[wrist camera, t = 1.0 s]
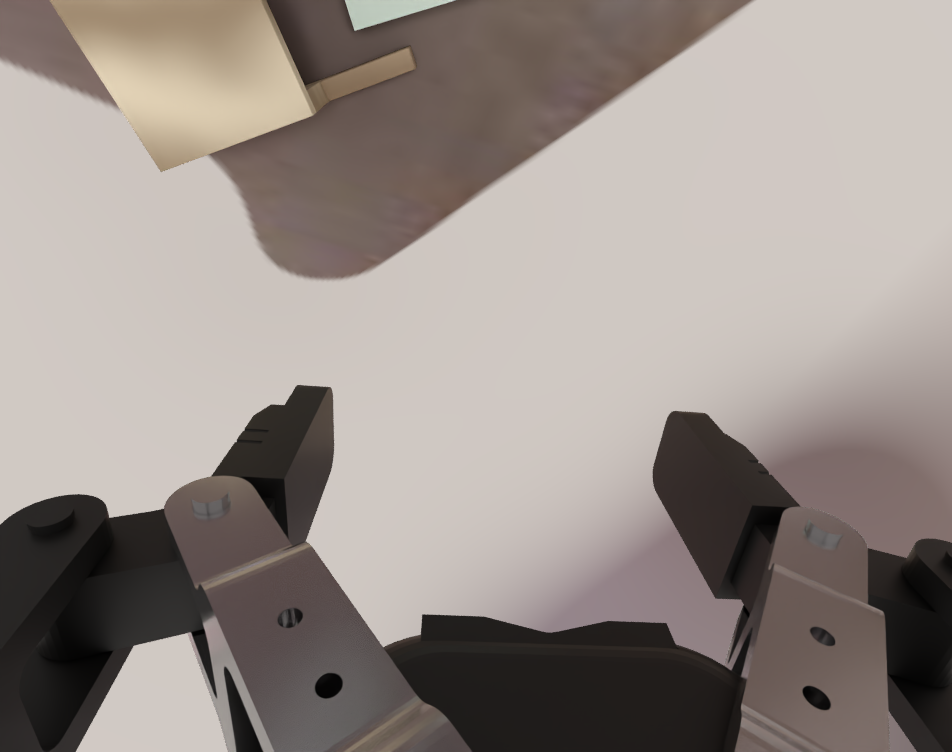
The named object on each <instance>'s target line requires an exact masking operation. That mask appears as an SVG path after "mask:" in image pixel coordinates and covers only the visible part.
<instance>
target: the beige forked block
mask: <svg viewBox="0 0 952 752" xmlns="http://www.w3.org/2000/svg"><path fill="white" fill-rule="evenodd" d="M50 2H51V4H52V5H53V7H54V8H55V10H56V11H57V13H58V14H59V16H60V17H61V19H62V20H63V22H64V24H65V25H66V27H67V28H68V30H69V31H70V33H71V34H72V36H73V37H74V39H75V40H76V42H77V44H78V45H79V47H80V48H81V50H82V51H83V53H84V54H85V56H86V57H87V59H88V60H89V62H90V63H91V65H92V67H93V68H94V70H95V71H96V73H97V74H98V76H99V77H100V79H101V80H102V82H103V83H104V85H105V87H106V88H107V90H108V91H109V93H110V94H111V96H112V97H113V99H114V100H115V102H116V103H117V105H118V106H119V108H120V110H121V111H122V113H123V114H124V116H125V117H126V119H127V120H128V122H129V123H130V125H131V126H132V128H133V130H134V131H135V133H136V134H137V136H138V137H139V139H140V140H141V142H142V143H143V145H144V146H145V148H146V150H147V151H148V152H149V154H150V156H151V157H152V159H153V160H154V162H155V163H156V165H157V166H158V168H159V169H160V171H161V172H162V171H165V170H168V169H170V168H173V167H176V166H178V165H181V164H184V163H186V162H189V161H192V160H195V159H197V158H200V157H203V156H205V155H208V154H211V153H213V152H216V151H219V150H222V149H224V148H227V147H230V146H232V145H235V144H238V143H240V142H243V141H246V140H248V139H251V138H254V137H256V136H259V135H262V134H265V133H267V132H270V131H273V130H275V129H278V128H281V127H283V126H286V125H289V124H291V123H294V122H297V121H300V120H302V119H305V118H308V117H310V116H313V115H314V114H315V113H316V112H318V111H319V110H320V109H321V108H322V107H323V106H324V105H325V104H327V103H328V102H329V101H331V100H334V99H337V98H339V97H342V96H345V95H347V94H350V93H353V92H355V91H358V90H361V89H363V88H366V87H369V86H371V85H374V84H377V83H379V82H382V81H385V80H387V79H390V78H393V77H395V76H398V75H401V74H403V73H406V72H409V71H411V70H414V69H416V67H417V65H416V62H415V58H414V55H413V52H412V49H411V46H407V47H405V48H402V49H400V50H397V51H394V52H392V53H389V54H387V55H384V56H381V57H379V58H376V59H373V60H371V61H368V62H366V63H363V64H360V65H358V66H355V67H352V68H350V69H347V70H345V71H342V72H339V73H337V74H334V75H332V76H329V77H326V78H324V79H321V80H318V81H316V82H313V83H311V84H308V85H305V86H304V83H303V81H302V79H301V77H300V74H299V72H298V70H297V68H296V66H295V63H294V61H293V59H292V57H291V54H290V52H289V50H288V48H287V46H286V43H285V41H284V39H283V37H282V35H281V32H280V30H279V28H278V26H277V23H276V21H275V19H274V17H273V15H272V12H271V10H270V8H269V6H268V3H267V1H266V0H50Z"/></svg>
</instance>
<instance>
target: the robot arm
mask: <svg viewBox="0 0 952 752" xmlns="http://www.w3.org/2000/svg"><path fill="white" fill-rule="evenodd" d="M333 454H334V425H333V393H332V389H331V388H330V387H319V386H303V385H297V386H296V387H295V389H294V391H293V393H292V394H291V396H290V397H289V399H288V400H287V402H286V404H285V405H270V406H268V407H267V408H265V409H263V410H262V411H260V412H259V413H257V414H255V415H254V416H253V417H252V419H251V420H250V422H249V423H248V425H247V426H246V427H245V431H243V432H242V433H241V435H240V436H239V437H238V439H237V442H235V443H234V445H233V446H232V447H231V449H230V450H229V452H228V453H227V455H226V456H225V457H224V459H223V460H222V462H221V463H220V465H219V466H218V467H217V469H216V470H215V472H214V473H213V475H212V476H211V477H207V478H203V479H199V480H196V481H193V482H191V483H189V484H187V485H185V486H183V487H181V488H179V489H178V490H177V491H175V492H174V493H173V494H172V495H171V496H170V497H169V498H168V500H167V501H166V504H165V506H164V509H161V510H156V511H151V512H145V513H138V514H132V515H126V516H119V517H113V518H109V515H108V511H107V507H106V505H105V503H104V502H103V501H102V500H100V499H99V498H96V497H94V496H89V495H80V494H78V495H64V496H58V497H54V498H50V499H46V500H43V501H40V502H37V503H34V504H32V505H30V506H28V507H25V508H23V509H21V510H20V511H18V512H16V513H15V514H13V515H12V516H10V517H9V518H7V519H6V520H5V521H4V522H3V523H2V524H1V525H0V752H76V750H77V748H78V746H79V744H80V743H81V741H82V739H83V737H84V735H85V734H86V732H87V730H88V728H89V726H90V724H91V723H92V721H93V719H94V717H95V715H96V713H97V711H98V710H99V708H100V706H101V704H102V702H103V701H104V699H105V697H106V695H107V693H108V692H109V690H110V688H111V686H112V684H113V682H114V680H115V679H116V677H117V675H118V673H119V671H120V670H121V668H122V666H123V664H124V662H125V661H126V659H127V657H128V655H129V653H130V651H131V649H132V648H133V646H134V645H138V644H142V643H147V642H151V641H155V640H159V639H163V638H168V637H172V636H176V635H181V634H185V633H188V636H189V638H190V641H191V644H192V647H193V649H194V652H195V655H196V657H197V660H198V663H199V666H200V668H201V671H202V674H203V677H204V679H205V682H206V685H207V687H208V690H209V693H210V696H211V698H212V701H213V704H214V707H215V709H216V712H217V715H218V717H219V721H220V724H221V728H222V731H223V735H224V739H225V743H226V746H227V750H228V752H890V740H889V739H890V738H889V712H890V713H891V715H892V716H893V718H894V719H895V720H896V722H897V723H898V725H899V726H900V728H901V729H902V731H903V732H904V733H905V735H906V736H907V737H908V739H909V740H910V742H911V744H912V745H913V746H914V748H915V749H916V751H917V752H952V543H950V542H947V541H943V540H938V539H921V540H919V541H917V542H916V543H915V545H914V547H913V548H912V550H911V552H910V554H909V555H908V557H907V558H904V557H899V556H896V555H892V554H888V553H885V552H880V551H877V550H872V549H869V548H868V547H867V543H866V542H865V540H864V538H863V537H862V536H861V535H860V534H859V533H858V532H857V531H856V530H855V529H854V528H853V527H851V526H850V525H849V524H847V523H846V522H844V521H842V520H840V519H839V518H837V517H835V516H833V515H830V514H828V513H826V512H823V511H820V510H817V509H813V508H807V507H801V506H800V505H799V504H798V503H797V502H796V501H795V500H794V499H793V498H792V497H791V495H790V494H789V493H788V492H787V491H786V490H785V489H784V488H783V487H782V486H781V485H780V484H779V482H778V481H777V480H776V479H775V478H774V477H773V476H772V475H769V472H768V471H767V469H766V468H765V467H764V466H763V465H762V464H761V463H758V460H757V459H756V457H755V456H754V455H753V454H752V453H751V452H750V451H749V450H748V449H747V448H746V447H745V446H744V445H742V444H741V443H739V442H737V441H736V440H734V439H733V438H731V437H730V436H728V435H727V434H724V433H723V432H722V430H721V429H720V428H719V427H718V426H717V425H716V424H715V423H714V421H713V420H712V419H711V418H710V417H709V416H708V415H707V414H705V413H696V412H681V411H673V412H671V413H670V415H669V416H668V418H667V421H666V424H665V427H664V431H663V435H662V438H661V442H660V445H659V449H658V452H657V456H656V459H655V463H654V467H653V484H654V488H655V491H656V493H657V494H658V496H659V498H660V500H661V501H662V503H663V505H664V507H665V509H666V511H667V512H668V514H669V516H670V518H671V519H672V521H673V523H674V525H675V527H676V528H677V530H678V532H679V534H680V536H681V537H682V539H683V541H684V543H685V545H686V546H687V548H688V550H689V552H690V554H691V555H692V557H693V559H694V561H695V562H696V564H697V566H698V568H699V570H700V571H701V573H702V575H703V577H704V579H705V580H706V582H707V584H708V586H709V587H710V589H711V591H712V593H713V595H714V597H715V598H717V599H741V600H742V602H743V604H744V605H743V607H742V610H741V612H740V614H739V617H738V620H737V623H736V627H735V630H734V633H733V637H732V640H731V643H730V647H729V650H728V654H727V657H726V660H725V664H724V666H723V665H722V664H720V663H718V662H716V661H715V660H713V659H711V658H709V657H707V656H705V655H702V654H700V653H698V652H695V651H693V650H690V649H688V648H685V647H682V646H679V645H676V644H675V642H674V640H673V638H672V635H671V633H670V631H669V628H668V626H667V624H666V623H645V622H618V621H607V622H602V623H597V624H592V625H588V626H583V627H578V628H573V629H569V630H564V631H559V632H553V633H546V632H541V631H537V630H533V629H529V628H526V627H522V626H518V625H514V624H510V623H506V622H503V621H499V620H495V619H491V618H487V617H479V616H478V617H476V616H451V615H422V628H421V635H418V636H414V637H409V638H406V639H403V640H400V641H397V642H394V643H392V644H389V645H387V646H385V647H382V645H381V644H380V643H379V641H378V640H377V638H376V637H375V635H374V634H373V633H372V631H371V630H370V628H369V627H368V626H367V624H366V623H365V621H364V620H363V618H362V617H361V615H360V614H359V613H358V611H357V610H356V608H355V607H354V606H353V604H352V603H351V601H350V600H349V598H348V597H347V596H346V594H345V593H344V591H343V590H342V589H341V587H340V586H339V584H338V583H337V581H336V580H335V579H334V577H333V576H332V574H331V573H330V571H329V570H328V569H327V567H326V566H325V564H324V563H323V561H322V560H321V559H320V557H319V556H318V554H317V553H316V552H315V550H314V549H313V548H312V546H311V545H310V544H309V543H307V542H305V541H306V539H307V536H308V533H309V530H310V527H311V525H312V522H313V519H314V516H315V514H316V511H317V508H318V505H319V503H320V500H321V497H322V494H323V491H324V489H325V486H326V483H327V480H328V477H329V475H330V472H331V468H332V463H333ZM888 710H889V711H888Z"/></svg>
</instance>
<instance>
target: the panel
mask: <svg viewBox="0 0 952 752" xmlns="http://www.w3.org/2000/svg"><path fill="white" fill-rule="evenodd" d="M452 1H455V0H345V2H346V5H347V8H348V12H349V15H350V18H351V21H352V24H353V27H354V30H355V31H356V30H359V29H363V28H366V27H369V26H372V25H376V24H379V23H382V22H386V21H389V20H392V19H396V18H399V17H402V16H406V15H409V14H412V13H415V12H419V11H422V10H425V9H429V8H432V7H435V6H439V5H442V4H445V3H449V2H452Z"/></svg>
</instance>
